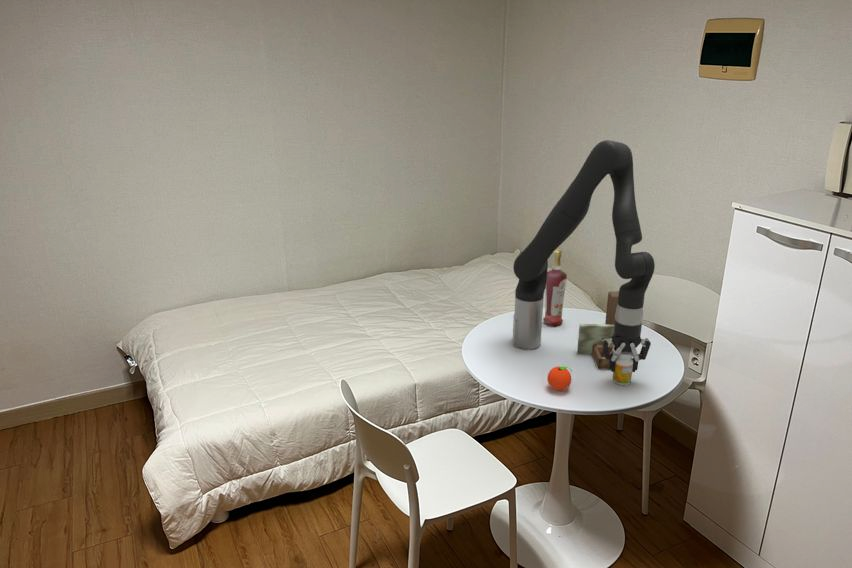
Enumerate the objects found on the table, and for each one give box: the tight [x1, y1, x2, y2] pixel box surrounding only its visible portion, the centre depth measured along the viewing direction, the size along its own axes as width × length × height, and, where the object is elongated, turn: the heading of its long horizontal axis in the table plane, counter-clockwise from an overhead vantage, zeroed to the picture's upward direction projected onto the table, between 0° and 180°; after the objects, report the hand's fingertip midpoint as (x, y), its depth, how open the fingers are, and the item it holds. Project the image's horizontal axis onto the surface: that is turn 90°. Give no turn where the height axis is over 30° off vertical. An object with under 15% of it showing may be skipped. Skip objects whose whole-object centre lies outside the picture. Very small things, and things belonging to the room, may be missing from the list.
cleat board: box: [576, 323, 614, 370], centre depth 196 cm, size 18×12×10 cm, turn 87°
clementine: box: [547, 366, 573, 391], centre depth 181 cm, size 8×7×7 cm
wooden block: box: [604, 290, 619, 325], centre depth 206 cm, size 9×4×18 cm, turn 92°
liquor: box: [543, 248, 568, 327], centre depth 220 cm, size 7×7×28 cm
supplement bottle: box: [611, 351, 633, 386], centre depth 184 cm, size 5×5×10 cm
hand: (622, 370), depth 184 cm, fingers closed on supplement bottle, 5 cm apart
